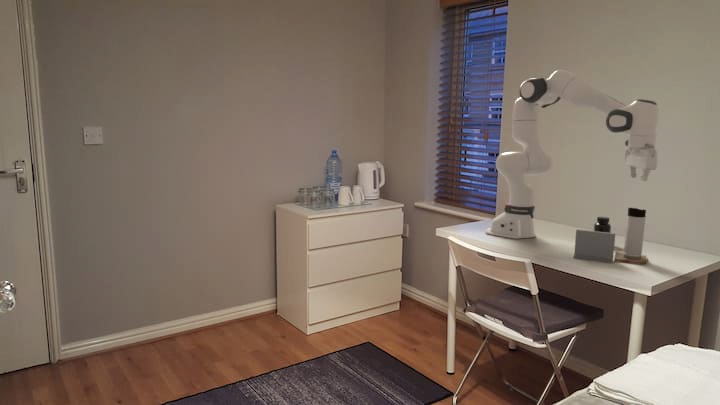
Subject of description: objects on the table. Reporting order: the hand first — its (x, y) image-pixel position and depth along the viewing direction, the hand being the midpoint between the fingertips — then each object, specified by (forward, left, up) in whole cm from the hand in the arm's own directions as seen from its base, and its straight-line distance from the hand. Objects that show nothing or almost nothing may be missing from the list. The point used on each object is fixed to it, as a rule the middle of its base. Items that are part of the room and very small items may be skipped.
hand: (638, 179), depth 202 cm
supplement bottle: (-12, +21, -32) cm, 40 cm away
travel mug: (+1, 0, -31) cm, 31 cm away
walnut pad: (0, 0, -32) cm, 32 cm away
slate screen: (-13, -7, -32) cm, 35 cm away
